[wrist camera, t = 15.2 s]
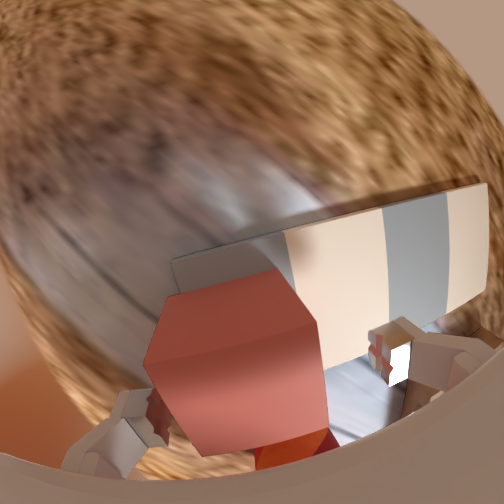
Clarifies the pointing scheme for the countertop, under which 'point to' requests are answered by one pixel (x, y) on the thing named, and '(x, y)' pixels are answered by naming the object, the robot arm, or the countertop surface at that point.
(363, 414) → the countertop surface
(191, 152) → the countertop surface
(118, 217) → the countertop surface
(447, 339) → the robot arm
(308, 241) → the track
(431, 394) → the button box
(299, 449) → the paper cup
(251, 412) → the red block
